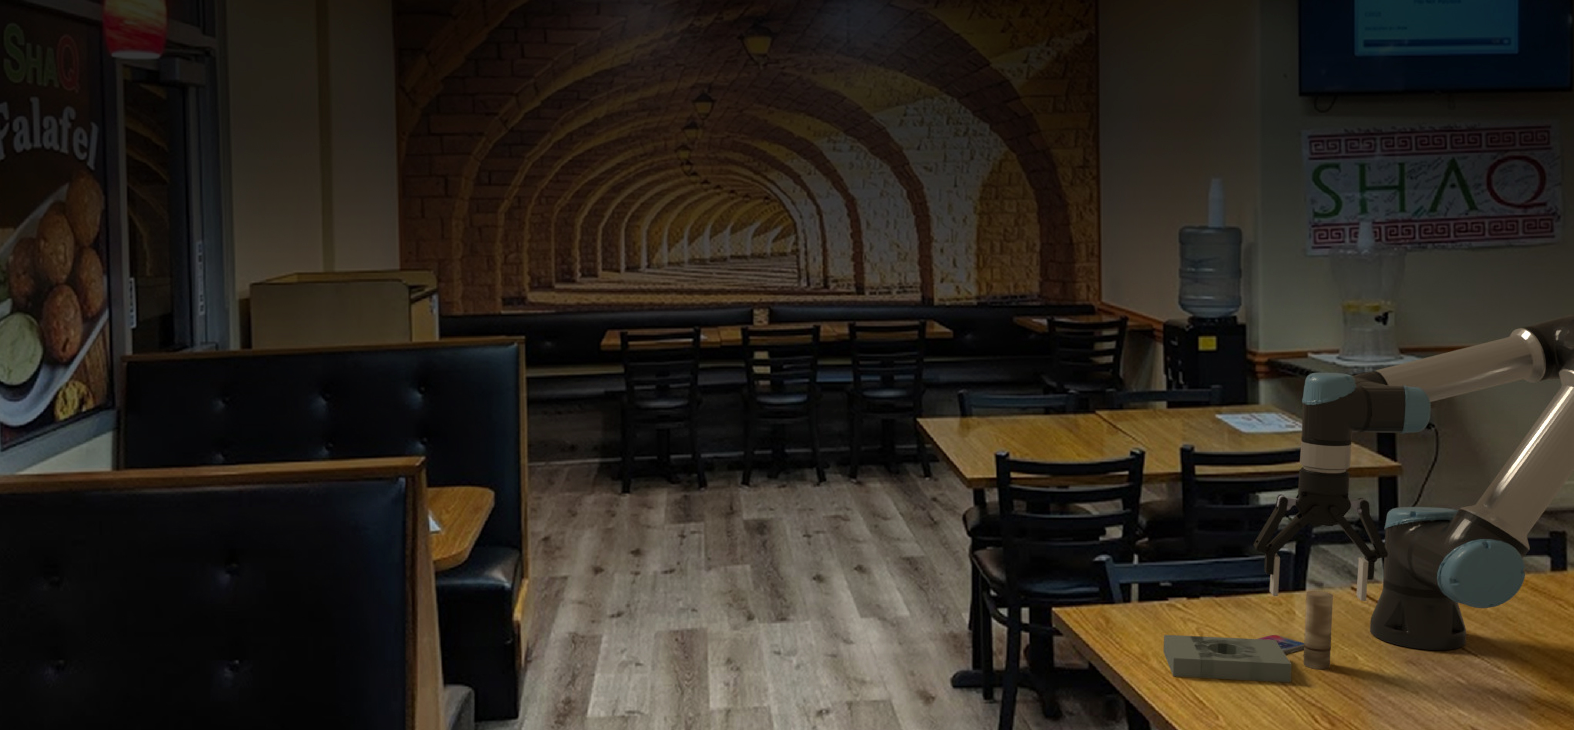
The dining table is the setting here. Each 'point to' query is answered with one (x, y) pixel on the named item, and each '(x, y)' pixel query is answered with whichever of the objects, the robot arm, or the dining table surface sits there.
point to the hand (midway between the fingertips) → (1317, 596)
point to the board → (1226, 658)
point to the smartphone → (1286, 643)
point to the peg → (1318, 629)
